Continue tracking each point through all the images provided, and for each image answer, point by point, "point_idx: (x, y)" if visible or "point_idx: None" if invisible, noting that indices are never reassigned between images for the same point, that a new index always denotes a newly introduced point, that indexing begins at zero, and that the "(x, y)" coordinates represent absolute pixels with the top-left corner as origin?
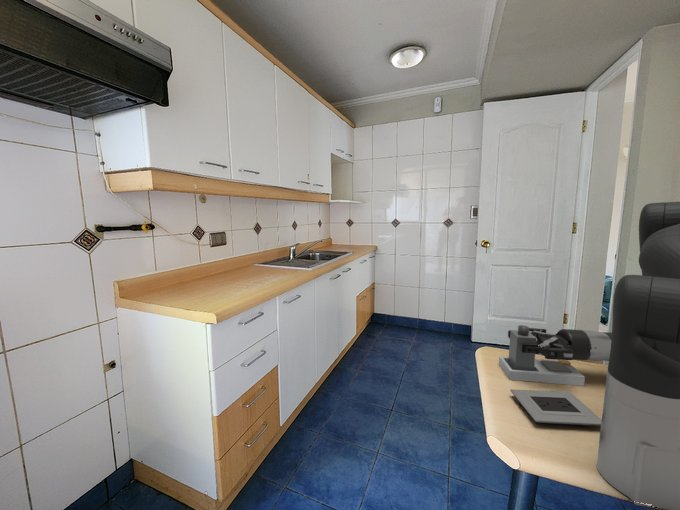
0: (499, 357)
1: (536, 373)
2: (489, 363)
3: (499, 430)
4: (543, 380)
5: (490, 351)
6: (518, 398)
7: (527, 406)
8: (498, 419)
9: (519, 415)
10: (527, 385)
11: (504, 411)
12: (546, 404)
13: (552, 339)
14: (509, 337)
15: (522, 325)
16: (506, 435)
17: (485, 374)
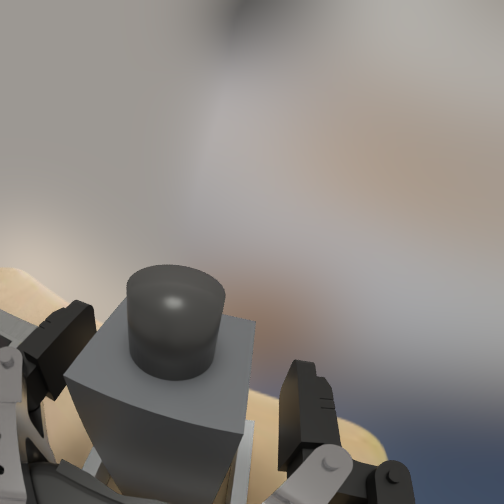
0: (249, 422)
1: (84, 466)
2: (250, 412)
3: (16, 276)
4: None
5: (358, 449)
6: (25, 321)
7: (2, 315)
8: (29, 288)
9: None
10: (81, 433)
11: (34, 306)
12: None
13: (3, 495)
14: (282, 391)
15: (218, 301)
16: (6, 276)
17: None
